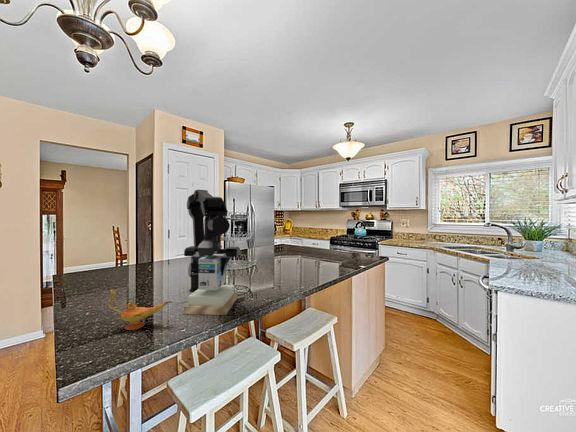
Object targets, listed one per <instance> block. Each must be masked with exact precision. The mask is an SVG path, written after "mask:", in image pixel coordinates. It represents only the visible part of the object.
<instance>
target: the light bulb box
mask: <svg viewBox="0 0 576 432" xmlns="http://www.w3.org/2000/svg"><path fill="white" fill-rule="evenodd" d="M222 257H224V255H223V254H213V255H212V256H204V257H202V258H200V259H199V290H218V289H219V288H220V287H221V286H222V285H225V283H226V271H225V272H224V275H223V276H222V275H221V269H222Z"/></svg>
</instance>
